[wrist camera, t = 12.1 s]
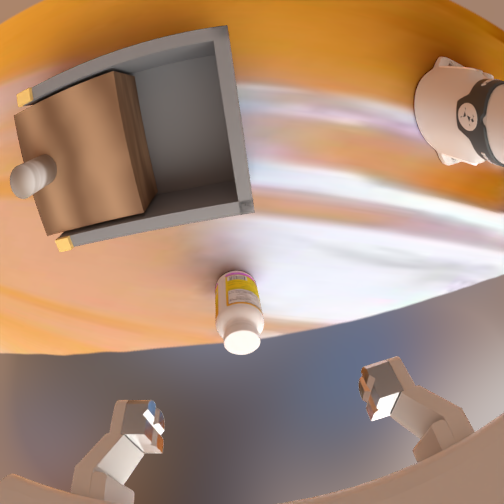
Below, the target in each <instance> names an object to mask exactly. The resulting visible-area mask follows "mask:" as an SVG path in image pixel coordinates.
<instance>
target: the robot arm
mask: <svg viewBox="0 0 504 504" xmlns="http://www.w3.org/2000/svg"><path fill="white" fill-rule="evenodd" d="M414 108H415V116H416V121H417V124H418V127H419V129H420V132H421V134H422V135H423V137H424V138H425V140H426V141H427V142H428V143H429V144H430V145H431V146H432V147H433V148H434V149H435V150H436V151H437V153H438V156H439V158H440V160H441V162H442V163H443V164H445V165H452V164H455V163H458V162H462V161H463V162H466V163H469V164H472V165H477V164H478V163H482V162H484V161H488V162H490V163H492V164H495V165H498V166H502V167H504V81H500V80H498V79H494V77H493V76H492V75H491V74H488V73H483V71H481V70H478V69H474V68H468V67H464V66H462V65H460V64H459V63H457V62H455V61H453V60H451V59H449V58H447V57H439V58H438V59H437V61H436V63H435V65H434V68H433V69H432V70H430V71H429V72H428V73H426V74H425V75H424V76H423V78H422V79H421V80H420V82H419V84H418V87H417V90H416V94H415V101H414ZM361 374H362V377H361V378H360V379H359V391H360V395H361V397H362V400H364V401H365V402H367V406H366V410H367V413H368V415H369V418H370V420H371V421H373V420H377V419H380V418H383V417H386V416H389V415H390V417H392V418H393V419H394V420H396V421H397V422H398V423H400V424H401V425H402V426H404V427H405V428H406V429H408V430H409V431H410V432H412V433H413V434H415V435H416V436H417V437H418V438H420V439H421V440H420V441H419V442H418V444H417V445H416V446H415V447H414V449H413V453H414V456H415V458H416V460H417V463H416V464H414V465H411V466H409V467H406V468H404V469H401V470H399V471H397V472H394V473H391V474H389V475H386V476H384V477H381V478H378V479H375V480H372V481H370V482H367V483H363V484H361V485H357V486H354V487H351V488H348V489H344V490H340V491H337V492H333V493H329V494H325V495H320V496H316V497H312V498H307V499H302V500H297V501H292V502H285V503H280V504H504V413H503V414H501V415H500V416H498V417H497V418H495V419H494V420H493V421H491V422H490V423H488V424H487V425H485V426H484V427H482V428H480V429H479V430H477V431H476V432H474V430H473V428H472V426H471V424H470V422H469V421H468V419H467V417H466V415H465V413H464V412H463V410H462V408H460V407H458V406H456V405H454V404H452V403H451V402H449V401H447V400H445V399H443V398H442V397H440V396H438V395H436V394H434V393H432V392H430V391H429V390H427V389H425V388H423V387H421V386H419V385H418V386H416V385H415V384H414V382H413V380H412V378H411V377H410V375H409V373H408V371H407V369H406V368H405V366H404V364H403V363H402V361H401V359H400V358H399V357H393V358H390V359H387V360H383V361H380V362H377V363H374V364H370V365H368V366H364V367H363V368H362V370H361ZM164 430H165V422H164V417H163V414H162V412H161V411H160V410H159V409H157V408H156V404H155V403H154V401H153V400H118V401H117V402H116V404H115V407H114V412H113V417H112V421H111V426H110V431H109V433H107V434H105V435H104V436H103V437H102V438H101V440H100V441H99V442H98V443H97V444H96V445H95V446H94V447H93V448H92V449H91V450H90V451H89V452H88V454H87V455H86V456H85V457H84V458H83V459H82V460H81V461H80V462H79V463H78V464H77V465H76V466H75V470H74V475H73V481H72V486H71V492H70V493H69V492H66V491H62V490H59V489H55V488H52V487H48V486H46V485H43V484H40V483H37V482H34V481H31V480H29V479H26V478H23V477H21V476H18V475H16V474H9V475H8V476H6V477H4V478H3V479H2V480H1V481H0V504H134V492H133V491H132V490H131V489H129V488H127V487H126V486H124V483H125V482H126V480H127V479H128V477H129V476H130V474H131V473H132V471H133V470H134V469H135V467H136V466H137V464H138V463H139V461H140V460H141V458H142V457H143V455H144V453H163V443H164V439H163V438H162V436H161V434H162V433H163V431H164Z"/></svg>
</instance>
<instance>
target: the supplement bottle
mask: <svg viewBox="0 0 504 504" xmlns="http://www.w3.org/2000/svg"><path fill="white" fill-rule="evenodd" d="M215 304H216V329H217V332H218V333H219V335H220V336H221V337H222V338H223V339H224V346H225V348H226V349H227V350H228V351H229V352H231V353H233V354H239V355H244V354H249V353H251V352H253V351H255V350H256V349H257V348H258V346H259V345H260V333H261V332H262V330H263V327H264V318H263V314H262V309H261V304H260V299H259V295H258V290H257V285H256V282H255V280H254V279H253V277H252V276H251V275H249V274H248V273H246V272H243V271H231V272H228V273H225V274H224V275H222V276H221V277H220V278H219V279H218V281H217V283H216V288H215Z"/></svg>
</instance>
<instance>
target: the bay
mask: <svg viewBox="0 0 504 504" xmlns="http://www.w3.org/2000/svg"><path fill="white" fill-rule="evenodd" d="M112 71H116V72H120V73H124V74H128V75H131V76H135V81H136V87H137V93H138V99H139V105H140V110H141V116H142V121H143V126H144V131H145V136H146V141H147V146H148V150H149V155H150V160H151V164H152V169H153V173H154V177H155V181H156V186H157V190H158V192H157V193H156V195H155V196H154V198H153V199H152V201H151V202H150V204H149V206H148V207H147V209H146V210H145V212H144V213H140V214H136V215H131V216H126V217H122V218H118V219H113V220H109V221H105V222H100V223H96V224H92V225H88V226H84V227H80V228H76V229H72V230H68V231H64V232H63V233H62V234H61V235H60V237H59V238H57V239H56V240H55V242H56V244H57V247H58V249H59V252H63V251H67V250H72V249H73V248H74V247H75V246H80V245H84V244H89V243H93V242H98V241H103V240H107V239H112V238H117V237H122V236H127V235H132V234H137V233H142V232H147V231H152V230H157V229H162V228H168V227H173V226H178V225H184V224H189V223H195V222H201V221H206V220H212V219H218V218H224V217H230V216H236V215H242V214H248V213H255V212H254V205H253V198H252V191H251V184H250V176H249V169H248V162H247V155H246V148H245V141H244V134H243V128H242V121H241V114H240V107H239V100H238V93H237V87H236V80H235V73H234V67H233V60H232V53H231V47H230V40H229V34H228V27H227V25H225V26H218V27H211V28H205V29H199V30H194V31H189V32H184V33H179V34H174V35H170V36H166V37H162V38H158V39H154V40H150V41H147V42H143V43H140V44H136V45H133V46H130V47H126V48H123V49H120V50H117V51H114V52H112V53H109V54H106V55H103V56H100V57H98V58H95V59H93V60H90V61H88V62H85V63H83V64H80V65H78V66H76V67H73V68H71V69H69V70H67V71H64V72H62V73H60V74H58V75H56V76H54V77H52V78H50V79H48V80H46V81H44V82H42V83H40V84H38V85H36V86H34V87H32V88H27V89H26V90H24V91H22V92H20V93H19V94H17V102H18V107H22V106H27V105H34V104H36V103H38V102H40V101H42V100H44V99H46V98H48V97H51V96H53V95H55V94H57V93H59V92H61V91H64V90H66V89H68V88H70V87H73V86H75V85H77V84H80V83H82V82H85V81H87V80H90V79H93V78H95V77H98V76H101V75H103V74H106V73H109V72H112Z"/></svg>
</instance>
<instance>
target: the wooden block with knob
mask: <svg viewBox="0 0 504 504" xmlns="http://www.w3.org/2000/svg"><path fill="white" fill-rule="evenodd" d="M14 119H15V125H16V130H17V135H18V140H19V144H20V149H21V153H22V157H23V161H24V163H23V164H20V165H18V166H16V167H15V168H14V169H13V170H12V172H11V176H10V185H11V189H12V191H13V193H14V194H15V195H16V196H17V197H19V198H21V199H26V198H28V197H30V196H31V195H33V196H34V200H35V203H36V206H37V209H38V212H39V214H40V217H41V220H42V223H43V226H44V228H45V231H46V234H47V236H49V235H53V234H56V233H60V232H64V231H68V230H72V229H76V228H80V227H84V226H88V225H92V224H96V223H100V222H105V221H109V220H113V219H118V218H122V217H126V216H131V215H136V214H140V213H144V212H145V210H146V209H147V207H148V206H149V204H150V202H151V201H152V199H153V198H154V196H155V195H156V193H157V192H158V190H157V186H156V181H155V177H154V173H153V169H152V164H151V160H150V155H149V150H148V146H147V141H146V136H145V131H144V126H143V121H142V116H141V110H140V105H139V99H138V93H137V87H136V81H135V76H131V75H128V74H124V73H120V72H116V71H112V72H109V73H106V74H103V75H101V76H98V77H95V78H93V79H90V80H87V81H85V82H82V83H80V84H77V85H75V86H73V87H70V88H68V89H66V90H64V91H61V92H59V93H57V94H55V95H53V96H51V97H48V98H46V99H44V100H42V101H40V102H38V103H36V104H34V105H33V106H31V107H29V108H27V109H25V110H23V111H21V112H20V113H18V114H16V115H14Z"/></svg>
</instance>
